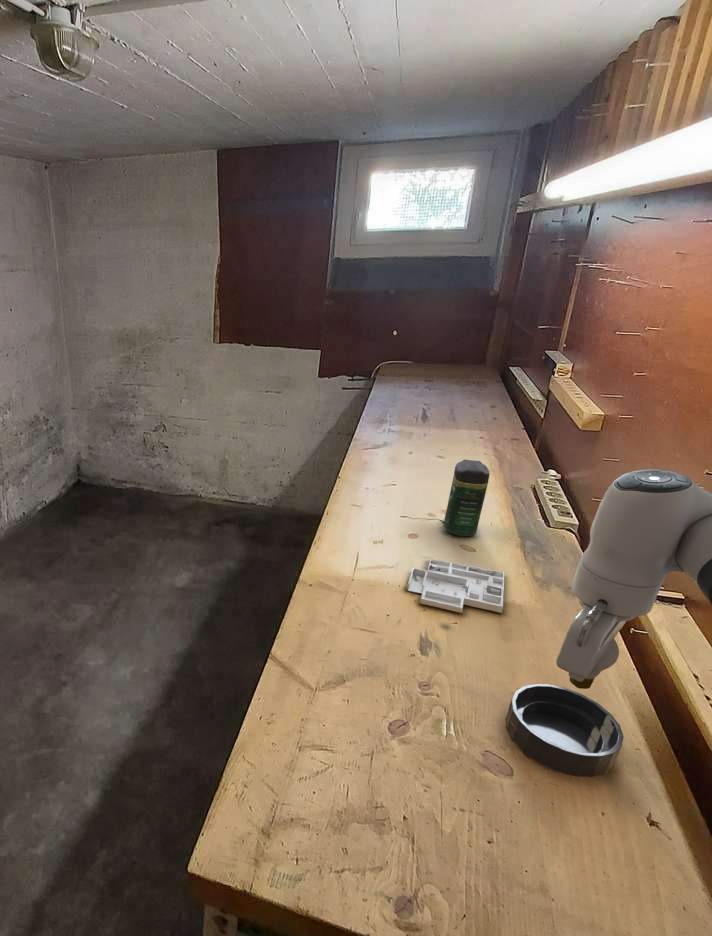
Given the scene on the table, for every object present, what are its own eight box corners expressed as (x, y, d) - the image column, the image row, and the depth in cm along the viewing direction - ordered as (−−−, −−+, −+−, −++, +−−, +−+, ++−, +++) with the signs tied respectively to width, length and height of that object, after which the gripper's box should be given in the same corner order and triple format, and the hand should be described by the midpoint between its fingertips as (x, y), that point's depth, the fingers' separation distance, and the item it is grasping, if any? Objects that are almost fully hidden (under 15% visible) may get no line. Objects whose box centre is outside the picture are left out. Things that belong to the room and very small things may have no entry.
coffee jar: (478, 539, 144) (493, 472, 136) (444, 535, 146) (457, 469, 138) (474, 522, 152) (488, 458, 144) (442, 519, 155) (454, 456, 146)
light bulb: (563, 698, 80) (583, 642, 76) (548, 670, 86) (566, 616, 81) (610, 704, 79) (633, 647, 75) (592, 676, 84) (613, 621, 80)
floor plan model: (399, 615, 117) (401, 608, 116) (415, 559, 137) (417, 552, 136) (501, 640, 109) (504, 632, 108) (503, 576, 128) (505, 569, 127)
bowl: (558, 699, 95) (566, 676, 93) (637, 768, 83) (648, 744, 80) (484, 715, 93) (491, 692, 90) (554, 789, 80) (564, 765, 78)
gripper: (618, 631, 67) (584, 716, 73) (663, 568, 78) (631, 646, 84) (558, 608, 71) (531, 690, 77) (609, 551, 83) (582, 627, 89)
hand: (584, 666), depth 81 cm, fingers closed on light bulb, 5 cm apart
